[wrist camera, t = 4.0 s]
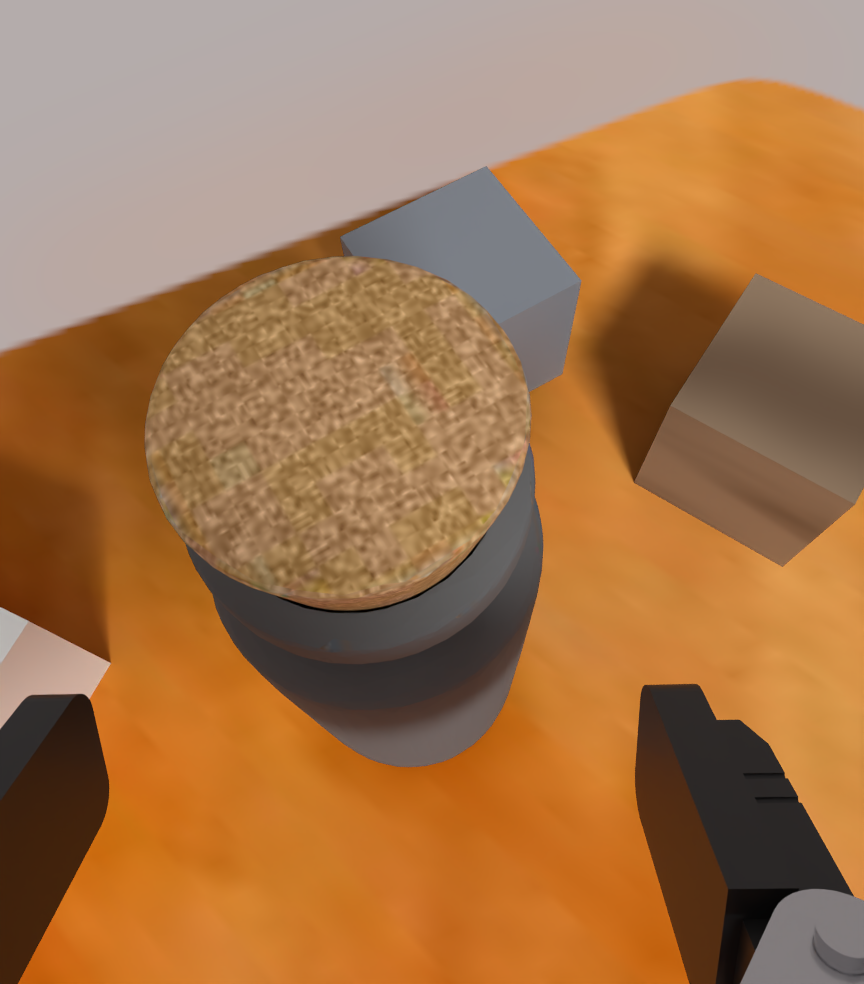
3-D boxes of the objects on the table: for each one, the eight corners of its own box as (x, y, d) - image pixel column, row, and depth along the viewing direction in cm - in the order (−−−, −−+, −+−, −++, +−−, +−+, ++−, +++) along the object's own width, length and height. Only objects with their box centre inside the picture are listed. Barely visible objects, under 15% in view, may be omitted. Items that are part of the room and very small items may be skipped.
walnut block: (706, 369, 27) (755, 273, 23) (849, 443, 26) (932, 357, 21) (633, 483, 26) (670, 405, 21) (781, 567, 24) (854, 504, 20)
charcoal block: (483, 272, 29) (486, 166, 24) (561, 375, 27) (581, 280, 23) (360, 335, 28) (340, 236, 24) (433, 444, 26) (426, 361, 22)
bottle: (296, 590, 25) (81, 265, 11) (485, 547, 25) (511, 181, 11) (328, 791, 22) (107, 706, 8) (535, 742, 23) (648, 583, 9)
